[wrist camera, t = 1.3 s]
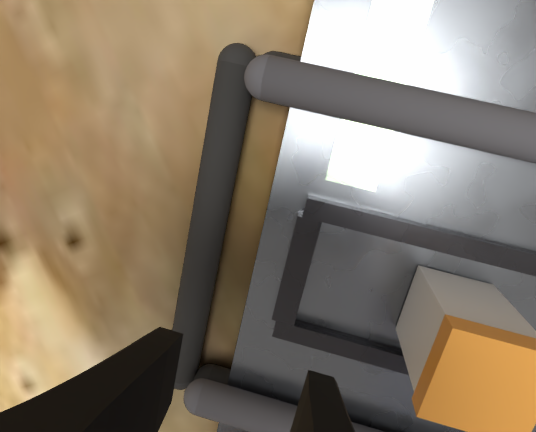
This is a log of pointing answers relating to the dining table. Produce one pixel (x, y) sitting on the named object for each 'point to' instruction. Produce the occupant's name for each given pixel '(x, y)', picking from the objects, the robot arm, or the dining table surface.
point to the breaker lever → (468, 354)
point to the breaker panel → (388, 205)
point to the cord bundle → (326, 103)
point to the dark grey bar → (239, 404)
